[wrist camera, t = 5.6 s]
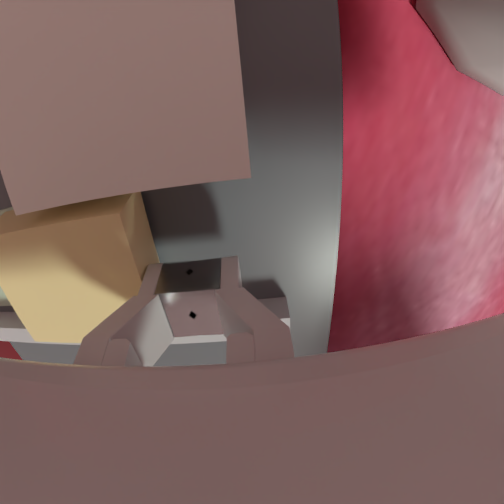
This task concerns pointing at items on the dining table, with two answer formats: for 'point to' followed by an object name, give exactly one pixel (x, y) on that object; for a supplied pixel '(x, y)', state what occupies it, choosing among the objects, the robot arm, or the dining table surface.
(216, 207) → the ticket board
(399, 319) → the dining table surface
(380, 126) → the dining table surface
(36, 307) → the stub
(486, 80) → the flask
